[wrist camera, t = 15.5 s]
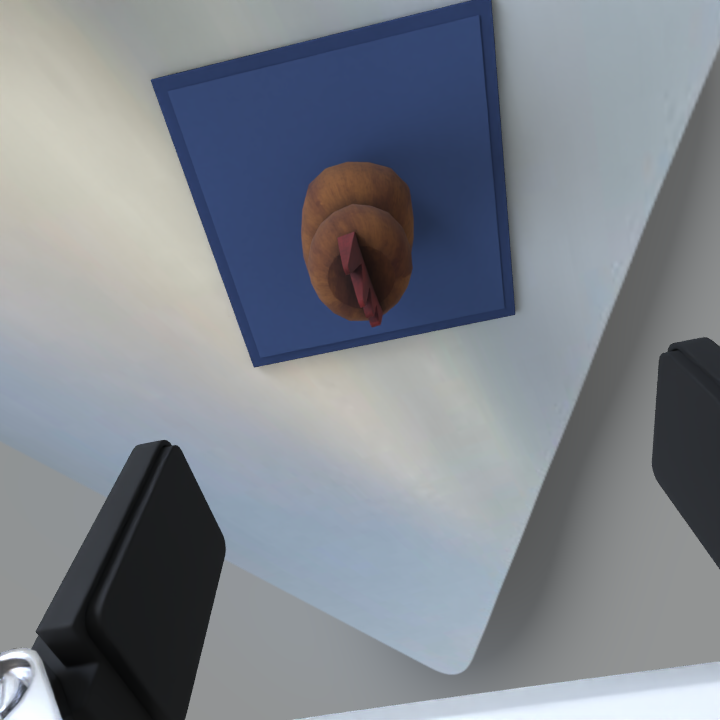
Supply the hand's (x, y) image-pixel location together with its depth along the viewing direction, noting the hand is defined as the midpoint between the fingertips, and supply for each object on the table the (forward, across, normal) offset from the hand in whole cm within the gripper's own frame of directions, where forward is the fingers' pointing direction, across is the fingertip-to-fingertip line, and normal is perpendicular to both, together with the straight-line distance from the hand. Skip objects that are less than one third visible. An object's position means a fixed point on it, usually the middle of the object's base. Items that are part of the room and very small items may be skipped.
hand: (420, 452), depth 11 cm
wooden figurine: (+24, +1, +1) cm, 24 cm away
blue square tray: (+24, +1, +1) cm, 25 cm away
